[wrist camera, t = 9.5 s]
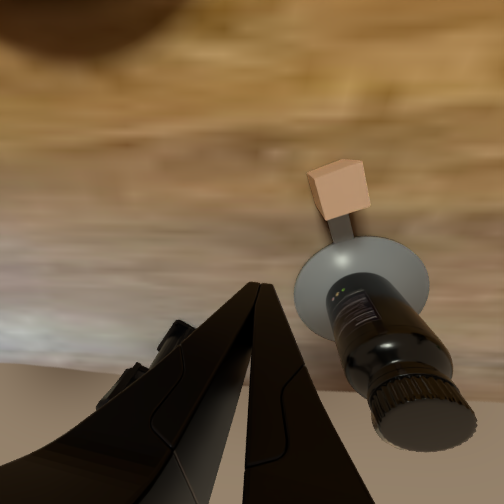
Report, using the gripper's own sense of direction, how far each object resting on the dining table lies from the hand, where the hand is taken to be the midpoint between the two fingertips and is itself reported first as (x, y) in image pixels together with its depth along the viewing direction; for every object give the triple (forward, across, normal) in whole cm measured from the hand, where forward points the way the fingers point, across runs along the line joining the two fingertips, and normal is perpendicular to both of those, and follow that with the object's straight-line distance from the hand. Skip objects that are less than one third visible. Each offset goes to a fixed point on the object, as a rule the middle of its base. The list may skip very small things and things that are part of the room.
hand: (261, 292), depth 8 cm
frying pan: (+14, -7, +8) cm, 17 cm away
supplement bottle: (+13, -8, +10) cm, 19 cm away
